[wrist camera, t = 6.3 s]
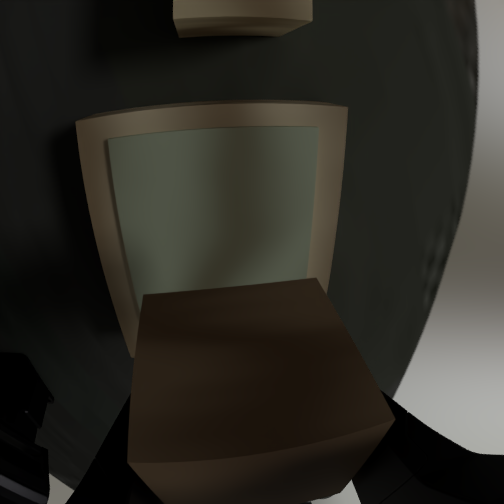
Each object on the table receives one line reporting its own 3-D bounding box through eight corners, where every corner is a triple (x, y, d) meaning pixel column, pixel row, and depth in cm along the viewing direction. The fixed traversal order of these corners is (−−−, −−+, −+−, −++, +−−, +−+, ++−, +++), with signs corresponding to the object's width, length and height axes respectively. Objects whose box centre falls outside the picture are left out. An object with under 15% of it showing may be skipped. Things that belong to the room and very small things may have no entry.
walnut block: (172, 396, 11) (179, 518, 7) (143, 294, 9) (126, 462, 4) (299, 381, 12) (340, 492, 8) (316, 277, 9) (395, 419, 5)
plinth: (135, 325, 21) (131, 361, 18) (94, 114, 14) (73, 122, 11) (305, 308, 23) (320, 341, 20) (323, 102, 16) (350, 108, 13)
